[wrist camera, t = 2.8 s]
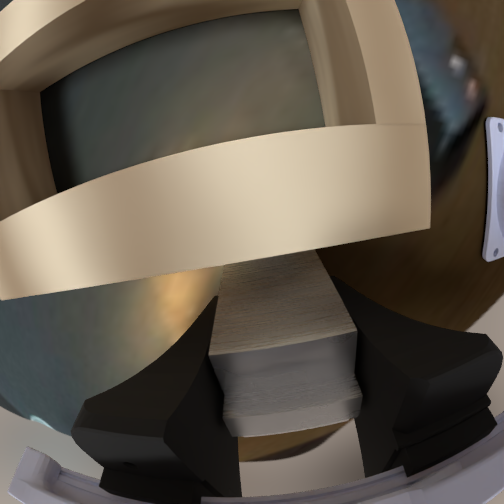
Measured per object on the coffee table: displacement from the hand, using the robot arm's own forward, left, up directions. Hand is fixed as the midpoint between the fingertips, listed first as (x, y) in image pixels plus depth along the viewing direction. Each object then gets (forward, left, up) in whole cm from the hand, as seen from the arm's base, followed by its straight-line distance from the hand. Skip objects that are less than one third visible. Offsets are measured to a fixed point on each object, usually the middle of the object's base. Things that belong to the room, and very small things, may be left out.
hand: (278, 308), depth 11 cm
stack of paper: (0, 0, -2) cm, 2 cm away
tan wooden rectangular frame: (+3, -9, -2) cm, 10 cm away
